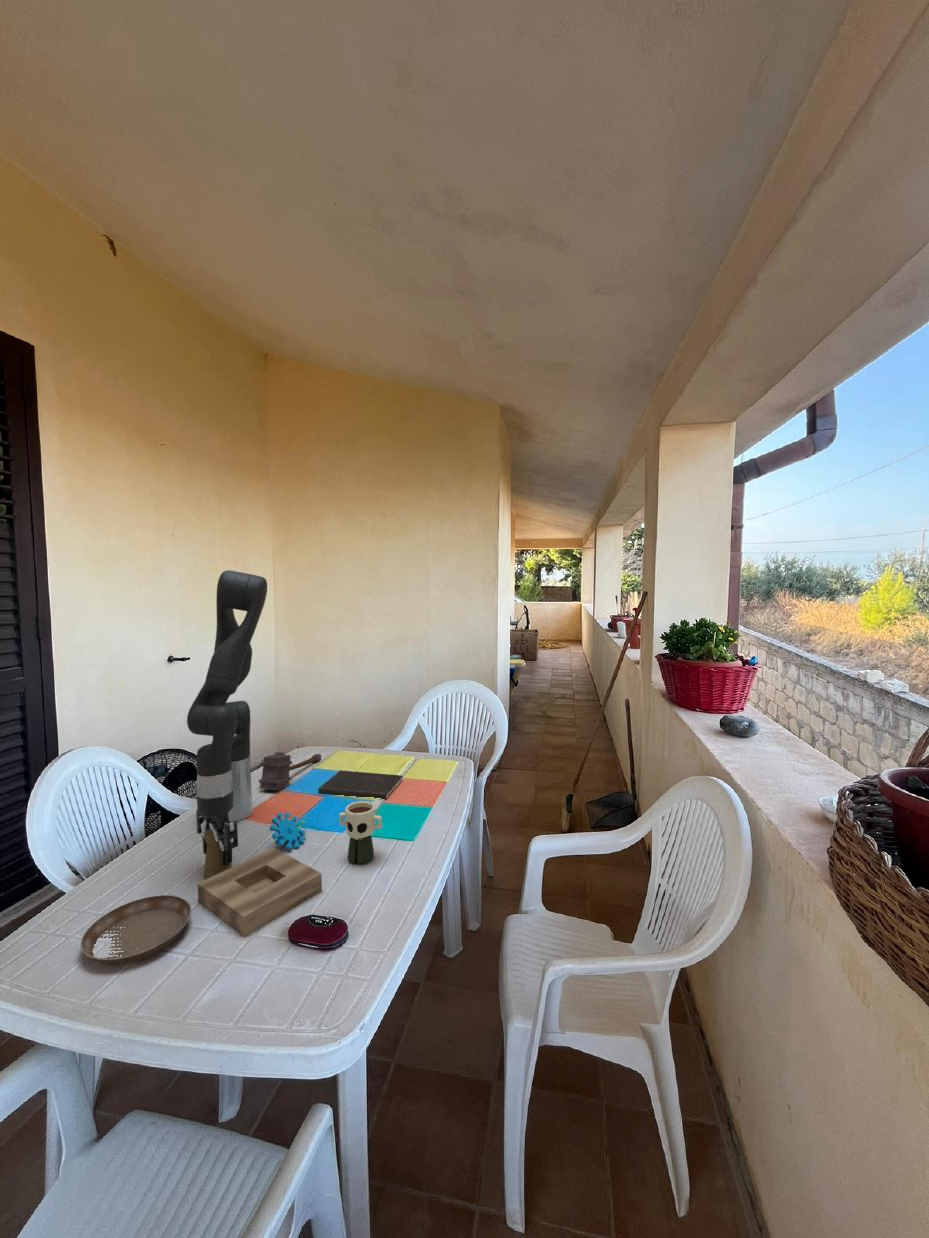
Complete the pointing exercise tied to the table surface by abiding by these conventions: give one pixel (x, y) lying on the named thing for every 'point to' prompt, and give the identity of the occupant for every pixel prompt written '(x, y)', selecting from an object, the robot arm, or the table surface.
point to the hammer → (280, 770)
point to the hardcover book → (360, 784)
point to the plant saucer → (139, 928)
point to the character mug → (360, 829)
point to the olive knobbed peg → (213, 856)
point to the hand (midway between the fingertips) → (217, 858)
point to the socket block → (259, 890)
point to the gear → (287, 831)
